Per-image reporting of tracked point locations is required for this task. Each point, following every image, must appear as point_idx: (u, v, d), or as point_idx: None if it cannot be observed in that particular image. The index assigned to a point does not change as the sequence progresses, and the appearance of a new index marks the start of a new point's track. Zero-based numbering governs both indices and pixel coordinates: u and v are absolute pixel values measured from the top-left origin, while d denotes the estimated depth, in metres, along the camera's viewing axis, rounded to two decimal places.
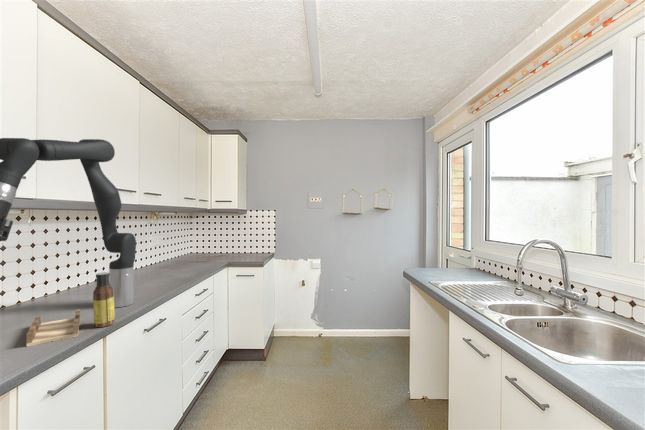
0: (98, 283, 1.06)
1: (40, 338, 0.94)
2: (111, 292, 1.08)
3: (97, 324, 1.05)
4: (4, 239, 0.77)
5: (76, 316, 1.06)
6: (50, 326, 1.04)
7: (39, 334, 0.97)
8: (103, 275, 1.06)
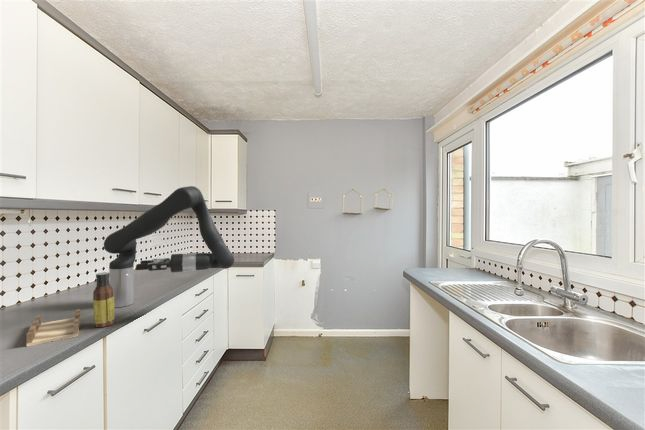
0: (98, 283, 1.06)
1: (40, 338, 0.94)
2: (111, 292, 1.08)
3: (97, 324, 1.05)
4: None
5: (76, 316, 1.06)
6: (50, 326, 1.04)
7: (39, 334, 0.97)
8: (103, 275, 1.06)
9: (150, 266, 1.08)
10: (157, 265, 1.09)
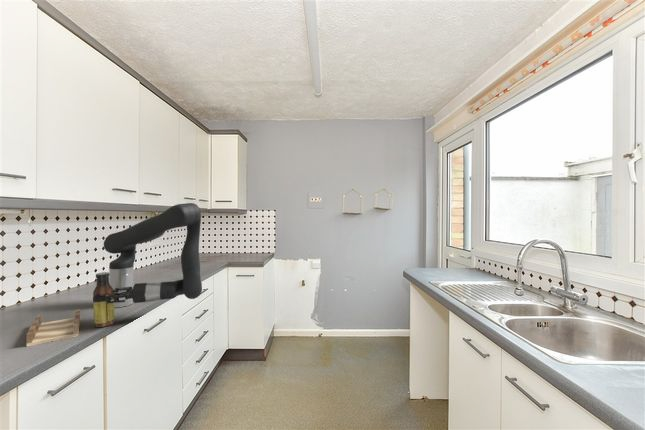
0: (98, 283, 1.06)
1: (40, 338, 0.94)
2: (111, 292, 1.08)
3: (97, 324, 1.05)
4: None
5: (76, 316, 1.06)
6: (50, 326, 1.04)
7: (39, 334, 0.97)
8: (103, 275, 1.06)
9: (108, 298, 1.03)
10: (115, 297, 1.04)
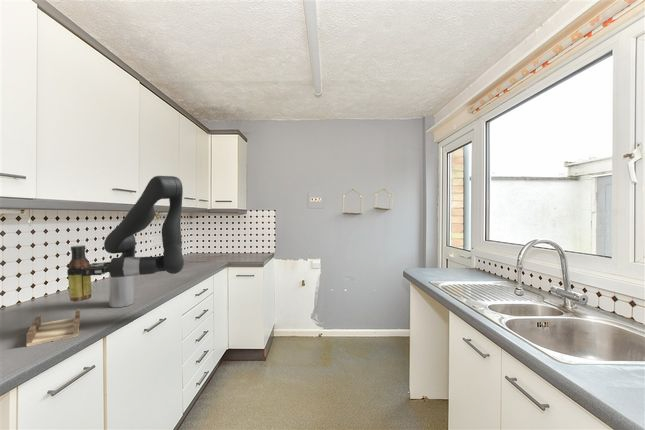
0: (73, 256, 1.02)
1: (40, 338, 0.94)
2: (87, 265, 1.04)
3: (72, 298, 1.02)
4: None
5: (76, 316, 1.06)
6: (50, 326, 1.04)
7: (39, 334, 0.97)
8: (78, 247, 1.02)
9: (83, 271, 1.00)
10: (90, 270, 1.00)
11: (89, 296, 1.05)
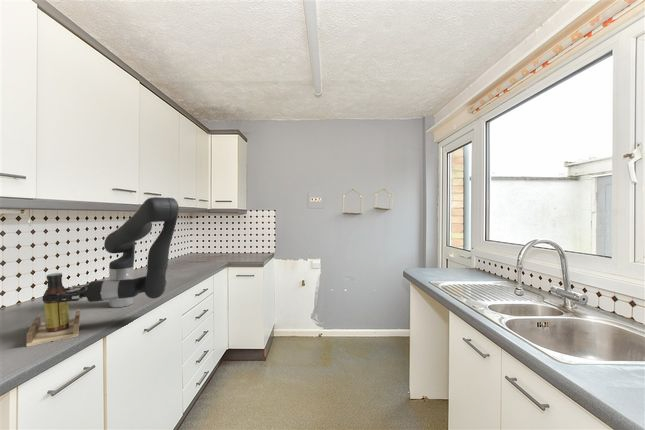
0: (49, 285, 0.99)
1: (40, 338, 0.94)
2: None
3: (48, 328, 0.99)
4: None
5: (76, 316, 1.06)
6: None
7: (39, 334, 0.97)
8: (54, 276, 0.99)
9: (58, 297, 0.96)
10: (67, 296, 0.97)
11: (66, 325, 1.02)
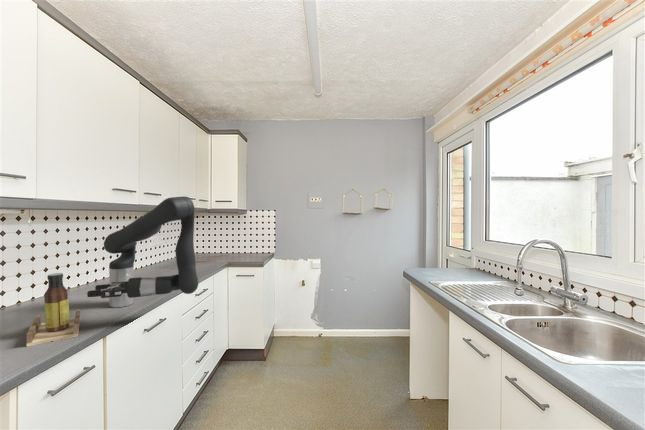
0: (50, 285, 0.99)
1: (40, 338, 0.94)
2: (64, 294, 1.01)
3: (48, 328, 0.99)
4: None
5: (76, 316, 1.06)
6: None
7: (39, 334, 0.97)
8: (55, 276, 0.99)
9: (102, 293, 1.01)
10: (110, 292, 1.02)
11: (66, 325, 1.02)
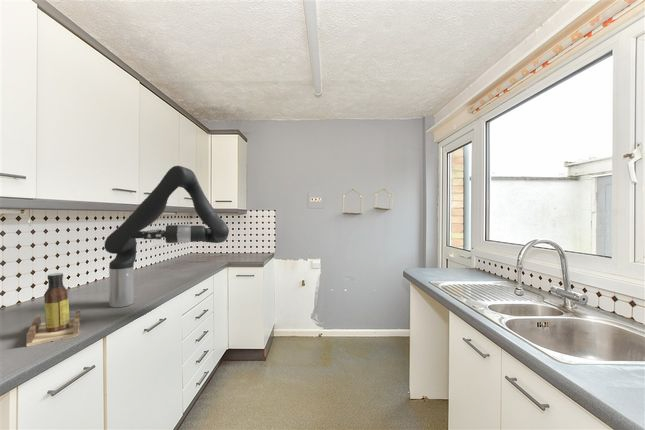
0: (50, 285, 0.99)
1: (40, 338, 0.94)
2: (64, 294, 1.01)
3: (48, 328, 0.99)
4: None
5: (76, 316, 1.06)
6: None
7: (39, 334, 0.97)
8: (55, 276, 0.99)
9: (145, 234, 1.09)
10: (152, 234, 1.10)
11: (66, 325, 1.02)
